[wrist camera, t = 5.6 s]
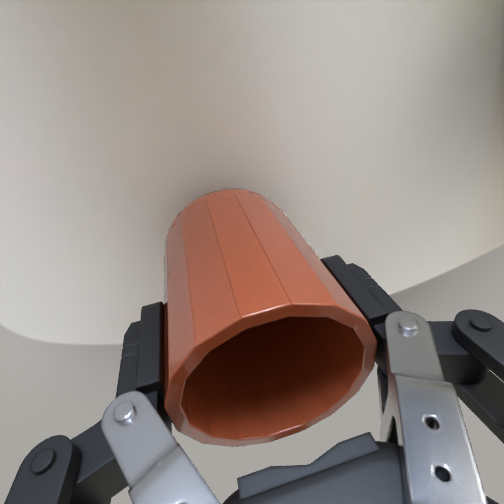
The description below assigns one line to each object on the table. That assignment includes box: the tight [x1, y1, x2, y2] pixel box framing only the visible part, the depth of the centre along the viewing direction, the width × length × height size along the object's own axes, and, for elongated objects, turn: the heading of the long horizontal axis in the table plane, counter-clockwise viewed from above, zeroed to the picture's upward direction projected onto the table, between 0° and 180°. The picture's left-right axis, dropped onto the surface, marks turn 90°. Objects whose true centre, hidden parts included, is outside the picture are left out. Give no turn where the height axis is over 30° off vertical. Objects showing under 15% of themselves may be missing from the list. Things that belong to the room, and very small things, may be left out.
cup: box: [164, 189, 378, 447], centre depth 12 cm, size 6×6×8 cm
